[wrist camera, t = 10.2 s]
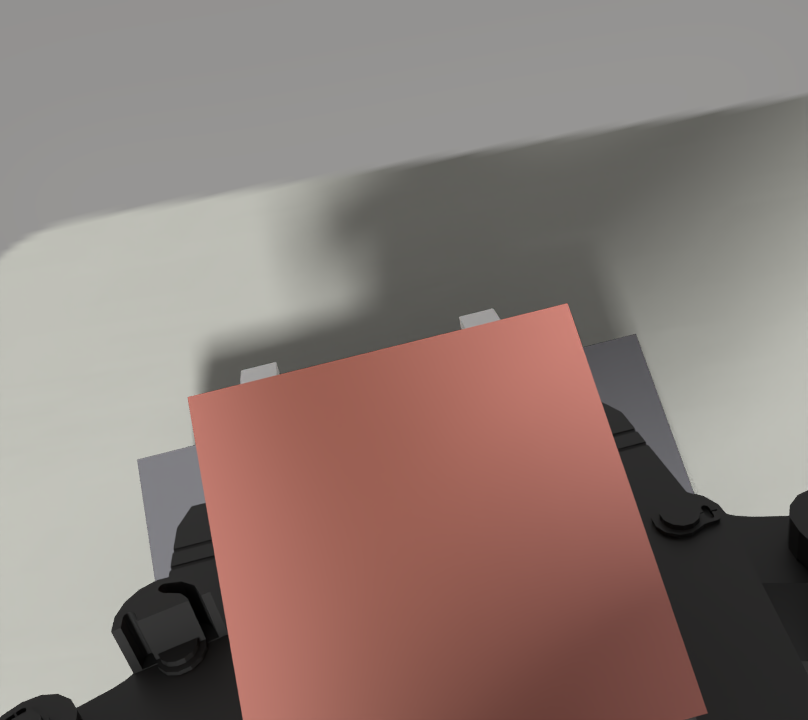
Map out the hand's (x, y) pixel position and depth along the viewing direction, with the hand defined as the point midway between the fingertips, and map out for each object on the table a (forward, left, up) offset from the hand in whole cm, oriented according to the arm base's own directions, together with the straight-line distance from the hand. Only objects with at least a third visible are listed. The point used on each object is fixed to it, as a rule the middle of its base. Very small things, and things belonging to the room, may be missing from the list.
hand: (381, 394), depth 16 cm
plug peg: (0, +4, -3) cm, 5 cm away
